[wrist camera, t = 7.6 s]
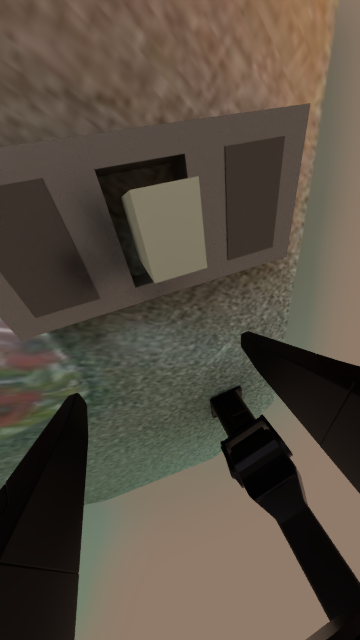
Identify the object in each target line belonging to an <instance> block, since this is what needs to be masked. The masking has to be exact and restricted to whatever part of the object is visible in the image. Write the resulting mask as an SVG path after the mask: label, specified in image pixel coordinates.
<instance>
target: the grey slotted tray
mask: <svg viewBox="0 0 360 640" xmlns="http://www.w3.org/2000/svg"><path fill="white" fill-rule="evenodd" d="M309 109H310V103H309V104H302V105H295V106H288V107H281V108H274V109H267V110H260V111H253V112H245V113H238V114H231V115H224V116H217V117H210V118H203V119H196V120H188V121H181V122H174V123H167V124H160V125H153V126H146V127H139V128H131V129H124V130H117V131H110V132H103V133H96V134H89V135H82V136H74V137H67V138H60V139H53V140H46V141H39V142H32V143H25V144H17V145H10V146H3V147H0V318H1V319H2V320H3V321H4V322H5V323H6V324H7V325H8V326H9V328H10V329H11V330H12V331H13V332H14V333H15V334H16V335H17V337H18V338H19V339H20V340H24V339H27V338H30V337H34V336H37V335H40V334H43V333H46V332H50V331H53V330H56V329H59V328H62V327H65V326H69V325H72V324H75V323H78V322H81V321H84V320H88V319H91V318H94V317H97V316H100V315H103V314H107V313H110V312H113V311H116V310H119V309H122V308H126V307H129V306H132V305H135V304H138V303H142V302H145V301H148V300H151V299H154V298H157V297H161V296H164V295H167V294H170V293H173V292H176V291H180V290H183V289H186V288H189V287H192V286H195V285H199V284H202V283H205V282H208V281H211V280H215V279H218V278H221V277H224V276H227V275H230V274H234V273H237V272H240V271H243V270H246V269H249V268H253V267H256V266H259V265H262V264H265V263H268V262H272V261H275V260H278V259H281V258H284V257H286V255H287V249H288V243H289V236H290V230H291V223H292V217H293V211H294V204H295V198H296V192H297V185H298V179H299V172H300V166H301V160H302V153H303V147H304V141H305V134H306V128H307V121H308V115H309ZM168 163H172V165H173V172H174V178H175V181H177V180H182V179H187V178H192V177H197V176H199V185H200V196H201V207H202V218H203V229H204V239H205V250H206V261H207V268H205V269H202V270H198V271H195V272H192V273H188V274H185V275H182V276H178V277H175V278H172V279H168V280H165V281H162V282H158V283H154V281H153V280H152V278H151V277H150V275H149V274H148V273H145V274H141V275H138V276H134V277H131V274H130V271H129V268H128V266H127V263H126V260H125V257H124V254H123V251H122V248H121V245H120V242H119V239H118V237H117V234H116V231H115V228H114V225H113V222H112V219H111V216H110V213H109V210H108V208H107V205H106V202H105V199H104V196H103V193H102V190H101V187H100V184H99V182H98V179H97V176H102V175H107V174H113V173H119V172H124V171H130V170H135V169H141V168H146V167H152V166H157V165H163V164H168Z"/></svg>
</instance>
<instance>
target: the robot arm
mask: <svg viewBox="0 0 360 640" xmlns="http://www.w3.org/2000/svg"><path fill="white" fill-rule="evenodd" d="M241 347H242V349H243V350H244V352H245V353H246V355H247V356H248V358H249V359H250V361H251V362H252V364H253V365H254V367H255V368H256V369H257V371H258V372H259V373H260V374H261V376H262V377H263V378H264V379H265V380H266V382H267V383H268V384H269V385H270V386H271V388H272V389H273V390H274V391H275V392H276V394H277V395H278V396H279V397H280V398H281V400H282V401H283V402H284V403H285V404H286V406H287V407H288V408H289V409H290V410H291V412H292V413H293V414H294V415H295V416H296V418H297V419H298V420H299V421H300V422H301V424H302V425H303V426H304V427H305V428H306V430H307V431H308V432H309V433H310V434H311V436H312V437H313V438H314V439H315V440H316V442H317V443H318V444H319V445H320V447H321V448H322V449H323V450H324V451H325V453H326V454H327V455H328V456H329V457H330V459H331V460H332V461H333V462H334V463H335V465H336V466H337V467H338V468H339V469H340V470H341V472H342V473H343V474H344V475H345V477H346V478H347V479H348V480H349V481H350V483H351V484H352V485H353V486H354V487H355V488H356V490H357V491H358V492H359V493H360V366H356V365H352V364H349V363H345V362H342V361H338V360H335V359H332V358H329V357H325V356H322V355H319V354H315V353H313V352H310V351H307V350H304V349H301V348H298V347H295V346H292V345H289V344H286V343H283V342H279V341H276V340H273V339H270V338H267V337H264V336H261V335H258V334H255V333H252V332H249V331H248V332H245V333H242V334H241ZM241 397H242V388H241V387H240V386H239V387H236V388H234V389H232V390H229V391H227V392H225V393H223V394H220V395H218V396H216V397H214V398H212V399H211V400H210V403H211V410H212V416H213V418H216V417H218V418H219V420H220V422H221V424H222V426H223V428H224V430H225V432H226V434H227V435H228V438H227V439H225V440H224V441H221V442H220V443H221V445H222V446H221V449H222V451H223V453H224V455H225V458H226V461H227V464H228V467H229V471H230V474H231V476H232V478H233V479H236V480H237V481H238V483H239V484H240V485H241V487H242V488H244V487H245V489H246V491H247V493H248V495H249V496H250V497H251V498H252V499H253V500H254V501H255V502H256V503H258V504H259V505H260V506H261V507H262V508H264V509H265V510H266V511H267V512H268V513H269V514H270V515H271V516H273V517H274V518H275V519H276V521H277V523H278V525H279V526H280V528H281V530H282V532H283V534H284V536H285V538H286V540H287V541H288V543H289V545H290V547H291V548H292V551H293V553H294V555H295V556H296V558H297V560H298V562H299V564H300V566H301V567H302V570H303V571H304V573H305V575H306V577H307V579H308V581H309V583H310V585H311V586H312V588H313V590H314V592H315V594H316V596H317V598H318V600H319V602H320V603H321V605H322V607H323V609H324V611H325V613H326V615H327V617H328V618H329V620H330V622H329V623H327V624H326V625H325V626H323V627H322V628H321V629H319V630H318V631H317V632H316V633H314V634H313V635H311V636H310V637H309V638H308V639H306V640H360V582H359V581H358V579H357V578H356V576H355V575H354V573H353V572H352V570H351V569H350V568H349V566H348V564H347V563H346V561H345V560H344V559H343V557H342V556H341V554H340V553H339V551H338V550H337V548H336V547H335V545H334V544H333V542H332V541H331V539H330V538H329V536H328V535H327V533H326V532H325V530H324V529H323V527H322V526H321V525H320V523H319V521H318V520H317V519H316V517H315V516H314V514H313V513H312V511H311V510H310V508H309V507H308V504H307V500H306V496H305V492H304V488H303V484H302V479H301V476H300V474H299V472H298V470H297V468H296V466H295V465H294V463H293V462H292V460H291V459H290V458H289V457H291V456H292V455H293V454H292V453H291V451H290V450H289V448H288V447H287V445H286V444H285V443H284V441H283V440H282V439H281V437H280V436H279V435H278V433H277V432H276V431H275V430H274V428H273V427H272V426H271V424H270V423H269V422H268V421H267V419H266V418H265V417H264V416H263V415H260V417H259V418H257V419H255V417H254V416H253V414H252V413H251V412H250V410H249V409H248V407H247V406H246V404H245V403H244V402H243V400H242V399H241ZM87 451H88V418H87V404H86V402H85V401H84V399H83V398H82V397H81V396H80V394H79V393H75V394H72V395H70V396H68V397H67V399H66V400H65V401H64V403H63V404H62V405H61V407H60V408H59V410H58V411H57V412H56V414H55V415H54V416H53V418H52V419H51V421H50V422H49V423H48V425H47V426H46V427H45V429H44V430H43V432H42V433H41V434H40V436H39V437H38V439H37V440H36V441H35V443H34V444H33V445H32V447H31V448H30V450H29V451H28V452H27V454H26V455H25V456H24V458H23V459H22V461H21V462H20V463H19V465H18V466H17V467H16V469H15V470H14V472H13V473H12V474H11V476H10V477H9V478H8V480H7V481H6V484H5V485H3V487H2V488H1V489H0V640H74V637H75V624H76V623H75V622H76V610H77V595H78V579H79V574H78V573H79V565H80V550H81V536H82V521H83V506H84V493H85V479H86V465H87Z"/></svg>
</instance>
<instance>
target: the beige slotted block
mask: <svg viewBox="0 0 360 640" xmlns="http://www.w3.org/2000/svg"><path fill="white" fill-rule="evenodd" d="M121 202H122V205H123V208H124V212H125V215H126V218H127V222H128V225H129V228H130V231H131V235H132V238H133V241H134V245H135V248H136V251H137V255H138V258H139V259H140V261H141V263H142V264H143V266H144V267H145V269H146V270H147V272H148V274H149V275H150V277H151V278H152V280H153V281H154V283H158V282H162V281H165V280H168V279H172V278H175V277H178V276H182V275H185V274H188V273H192V272H195V271H198V270H202V269H205V268H207V261H206V250H205V239H204V229H203V218H202V207H201V196H200V185H199V176H197V177H192V178H187V179H182V180H177V181H172V182H167V183H162V184H157V185H152V186H147V187H142V188H137V189H132V190H129V191H128V192H127V193H126V194H125V195H123V196H122V197H121Z"/></svg>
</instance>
